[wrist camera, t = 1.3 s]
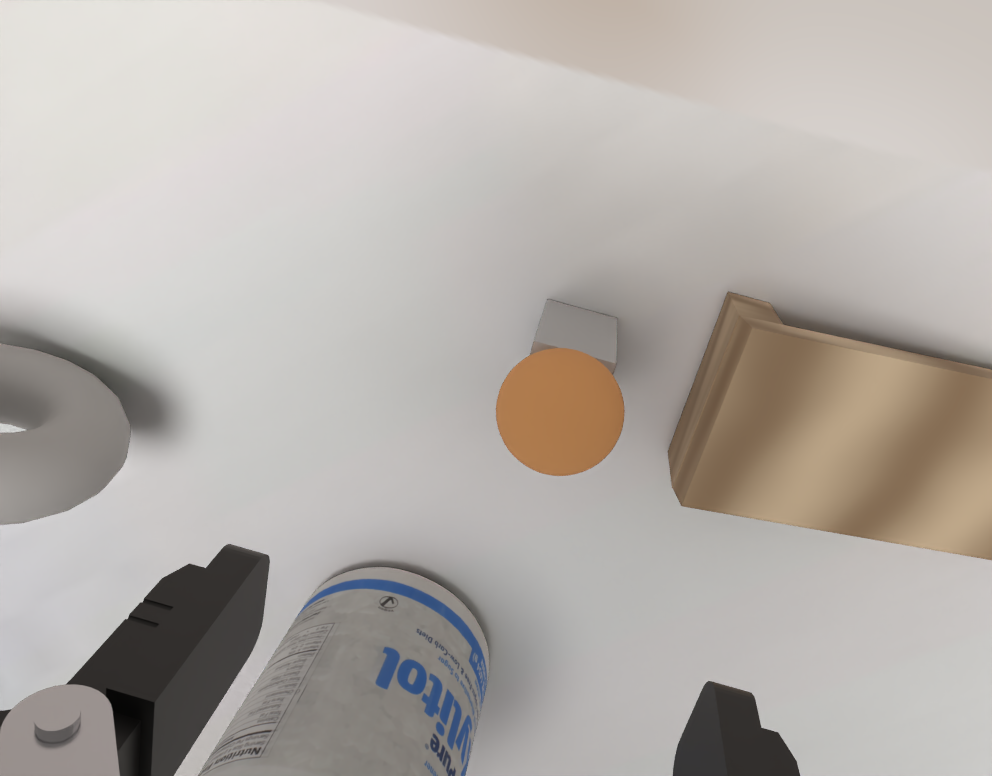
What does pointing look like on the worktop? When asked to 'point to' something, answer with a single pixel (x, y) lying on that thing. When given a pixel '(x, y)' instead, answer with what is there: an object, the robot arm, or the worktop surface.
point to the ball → (560, 411)
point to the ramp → (836, 435)
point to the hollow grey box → (577, 332)
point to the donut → (55, 435)
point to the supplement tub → (365, 685)
